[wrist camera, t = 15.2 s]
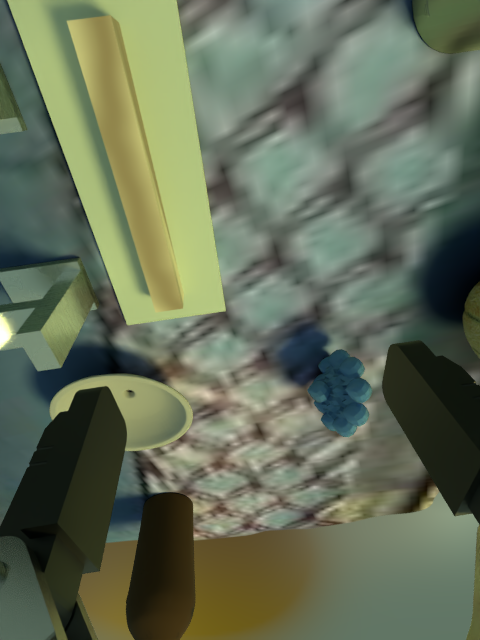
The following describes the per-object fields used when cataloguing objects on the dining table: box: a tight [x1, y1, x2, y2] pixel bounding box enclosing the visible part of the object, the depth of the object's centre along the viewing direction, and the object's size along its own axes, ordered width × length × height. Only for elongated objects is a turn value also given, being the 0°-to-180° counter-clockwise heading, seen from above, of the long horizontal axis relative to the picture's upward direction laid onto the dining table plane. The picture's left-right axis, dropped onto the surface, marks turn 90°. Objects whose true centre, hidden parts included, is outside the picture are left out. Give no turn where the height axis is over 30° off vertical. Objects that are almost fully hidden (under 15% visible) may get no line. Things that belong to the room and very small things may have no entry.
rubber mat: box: [7, 0, 226, 325], centre depth 32 cm, size 12×30×1 cm, turn 6°
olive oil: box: [126, 493, 195, 640], centre depth 55 cm, size 11×11×25 cm
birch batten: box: [67, 15, 184, 312], centre depth 31 cm, size 3×24×3 cm, turn 6°
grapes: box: [307, 349, 372, 437], centre depth 43 cm, size 12×7×12 cm, turn 171°
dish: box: [50, 374, 193, 451], centre depth 45 cm, size 18×14×5 cm
